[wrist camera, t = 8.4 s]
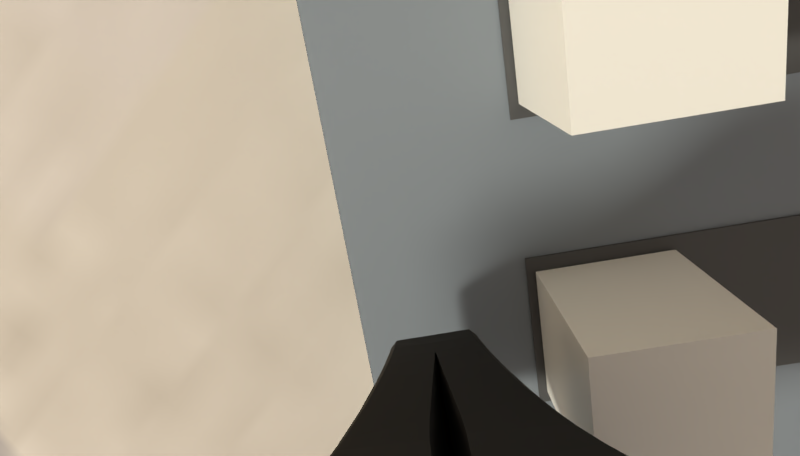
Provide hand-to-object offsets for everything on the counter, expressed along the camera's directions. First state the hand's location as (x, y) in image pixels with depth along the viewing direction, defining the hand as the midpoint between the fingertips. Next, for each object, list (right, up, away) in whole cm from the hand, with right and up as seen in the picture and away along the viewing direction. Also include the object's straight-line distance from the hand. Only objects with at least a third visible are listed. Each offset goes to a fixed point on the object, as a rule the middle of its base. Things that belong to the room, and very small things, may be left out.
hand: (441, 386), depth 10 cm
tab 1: (+2, +6, -1) cm, 7 cm away
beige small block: (+3, +1, +1) cm, 3 cm away
